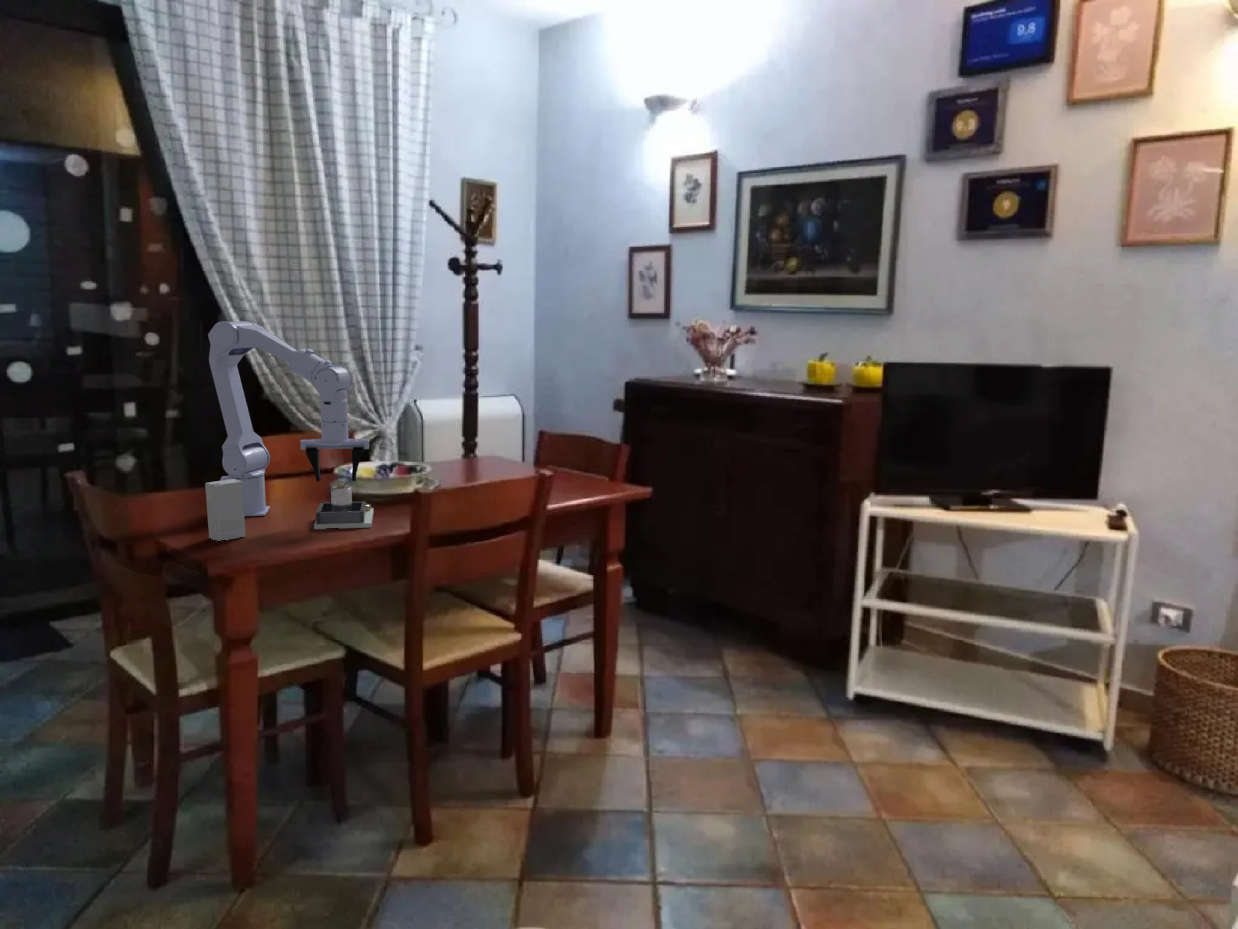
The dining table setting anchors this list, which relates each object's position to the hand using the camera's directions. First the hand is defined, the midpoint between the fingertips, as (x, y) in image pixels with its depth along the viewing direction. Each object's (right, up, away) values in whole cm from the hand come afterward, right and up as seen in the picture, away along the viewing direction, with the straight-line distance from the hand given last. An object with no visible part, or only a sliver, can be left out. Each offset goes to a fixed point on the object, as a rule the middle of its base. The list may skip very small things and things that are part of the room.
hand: (336, 480), depth 195 cm
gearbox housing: (+1, -9, +2) cm, 9 cm away
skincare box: (-18, -12, -15) cm, 26 cm away
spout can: (+1, -8, 0) cm, 8 cm away
